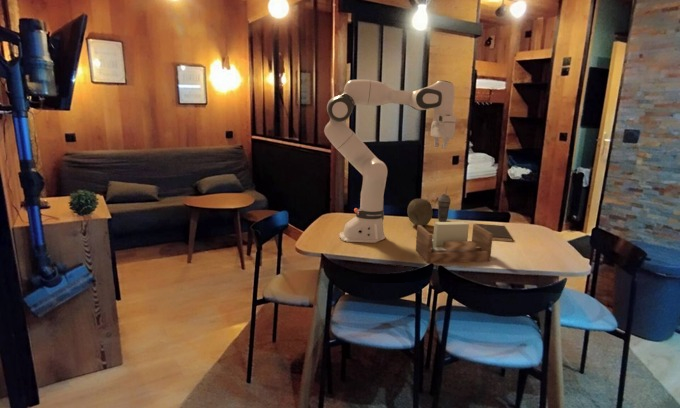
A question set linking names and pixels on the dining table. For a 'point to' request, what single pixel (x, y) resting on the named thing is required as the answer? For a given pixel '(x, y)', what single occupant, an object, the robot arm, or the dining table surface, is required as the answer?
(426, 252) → the walnut rack
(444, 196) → the beverage cup
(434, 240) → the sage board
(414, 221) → the cantaloupe
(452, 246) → the offcut stack
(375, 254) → the dining table surface
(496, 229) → the hardcover book
